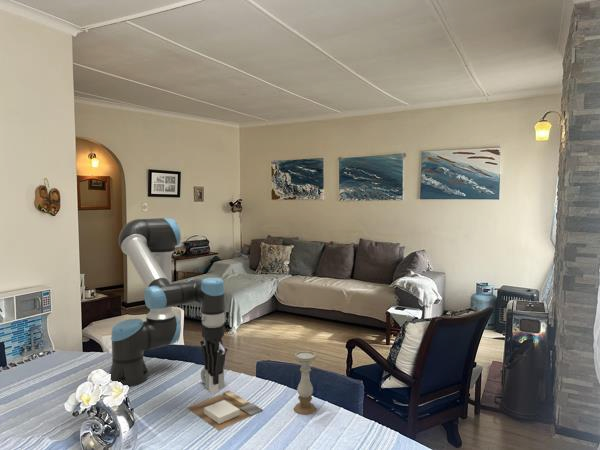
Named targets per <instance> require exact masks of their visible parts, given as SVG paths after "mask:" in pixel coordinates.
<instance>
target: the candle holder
mask: <svg viewBox="0 0 600 450" xmlns="http://www.w3.org/2000/svg"><path fill="white" fill-rule="evenodd" d="M317 357H318V356H317V353H315V352H313V351H308V350H302V351H297V352H296V353H294V360H296V361H298V362H299V363H300V364H301V365H300V366H301V367H300V368H299V371H300V373H301V375H300V376H301V377H300V381H299V383H298V386H297V389H296V391H297V394H298V397H297V399H298V400H299V402H298V403H296V405H295V406H294V407H293V411H294V413H295V414H297V415H301V416H309V415H313V414H315V413H316V412H317V410H318V409H317V406H316V405H315V404H314V403H312V402H311V401H312V400H313V396H312V395H313V392H314V387H313V384H312V383H311V380H310V379H311V378H310V372H311V371H312V368H311V367H310V364H311V363H312V361H315V360H316V359H317Z"/></svg>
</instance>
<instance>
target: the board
mask: <svg viewBox="0 0 600 450" xmlns="http://www.w3.org/2000/svg"><path fill="white" fill-rule="evenodd" d="M223 400H225V401H227V402H228V403H230V404H232V405H233V406H235V407H237V408H238V409H240V408H241V407H240V406H238V405H237V404H235V403H233V402H232V401H230V400H228V399H227V398H225V397H223V393H221V394H218V395H216V396H213V397H210V398H207V399H205V400H203V401H200V402H198V403H194V404H192V405H190V406H187V407H186V409H187V410H188V411H191V412H192V413H193V414H194V415H196V416H197V417H198V418H200V419H201V420H202V421H204V422H205V423H207V424H208V425H211V427H213V428H214V429H215V430H217V431H221V430H224V429H226V428H228V427H230V426H232V425H236V424H237V423H240V422H241V421H243V420H246V419H249V418H251V417H252V416H249V415H248V414H246V413H245V412H243V411H241V410H240V415H239V416H236V417H234V418H232V419H229V420H227V421H225V422H223V423H220V424H218V423H217V422H216V421H214V420H213V419H211V418H210V417H208V416H207V415H205V414H204V408H205V407H207V406H210V405H212V404H215V403H217V402H220V401H223ZM248 402H249V404H251V403H252V402H250V401H248ZM264 410H265V409H264ZM264 410H263V411H261V412H259V413H258V414H260V413H262V412H264Z"/></svg>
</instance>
